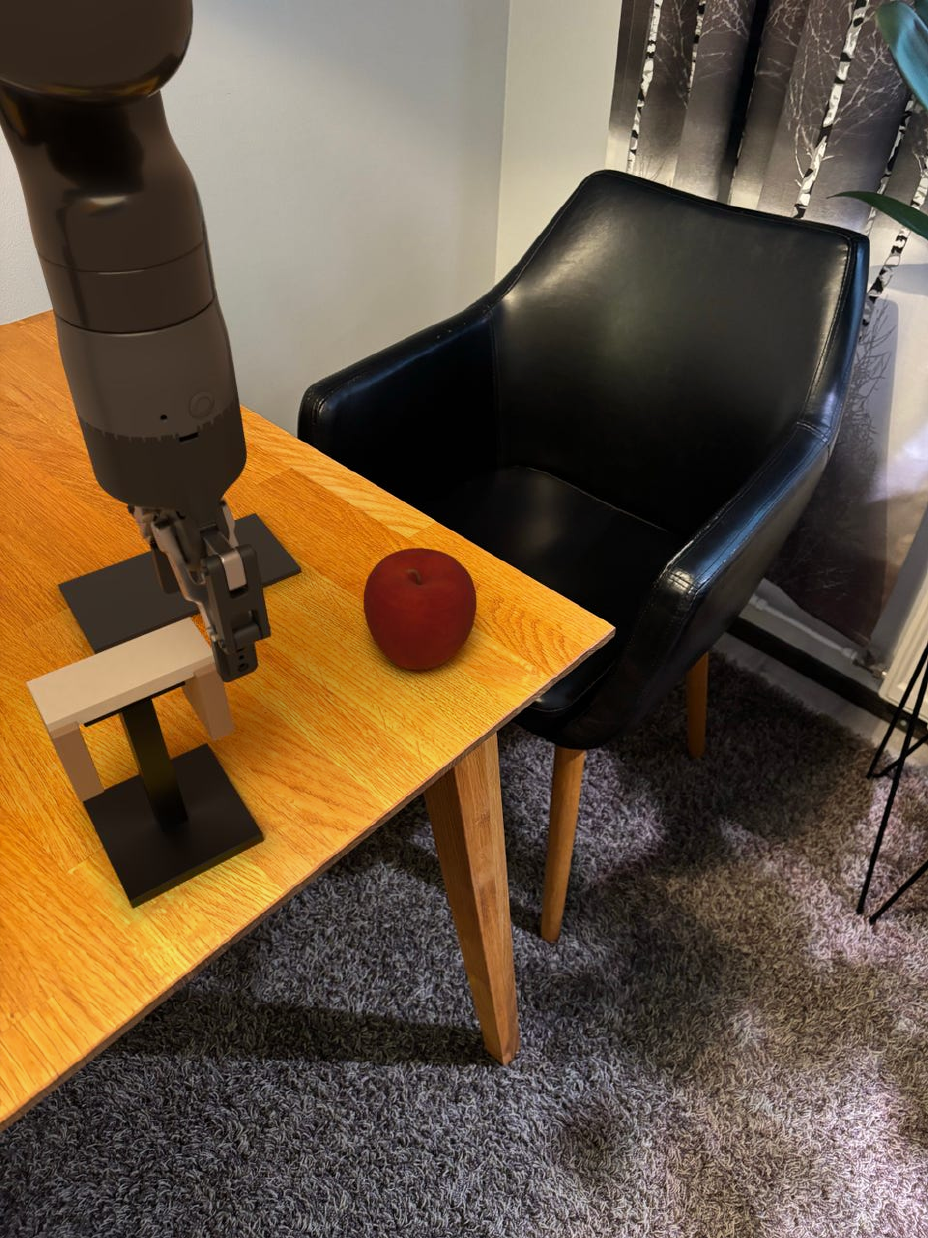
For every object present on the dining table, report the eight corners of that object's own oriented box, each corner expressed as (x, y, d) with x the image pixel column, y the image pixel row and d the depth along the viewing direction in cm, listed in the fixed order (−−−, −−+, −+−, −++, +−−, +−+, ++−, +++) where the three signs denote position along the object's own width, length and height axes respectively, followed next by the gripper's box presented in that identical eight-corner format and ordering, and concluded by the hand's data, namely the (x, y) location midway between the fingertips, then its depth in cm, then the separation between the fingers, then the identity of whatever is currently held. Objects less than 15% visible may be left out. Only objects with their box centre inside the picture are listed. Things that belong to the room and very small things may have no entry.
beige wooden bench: (80, 803, 61) (49, 731, 56) (54, 748, 64) (22, 675, 59) (235, 732, 66) (218, 659, 61) (204, 683, 69) (186, 611, 64)
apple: (426, 599, 90) (426, 514, 83) (497, 655, 85) (503, 570, 78) (345, 647, 85) (337, 561, 78) (415, 710, 81) (414, 624, 74)
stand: (132, 909, 67) (72, 769, 56) (84, 807, 73) (21, 663, 62) (264, 840, 71) (233, 698, 60) (209, 750, 77) (171, 604, 66)
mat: (95, 654, 84) (93, 650, 84) (59, 589, 90) (57, 584, 89) (301, 572, 92) (301, 567, 92) (256, 517, 98) (255, 512, 98)
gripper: (30, 342, 48) (104, 583, 60) (132, 488, 40) (196, 735, 51) (173, 307, 52) (218, 541, 63) (295, 435, 43) (322, 679, 55)
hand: (208, 628), depth 57 cm, fingers open, 8 cm apart
